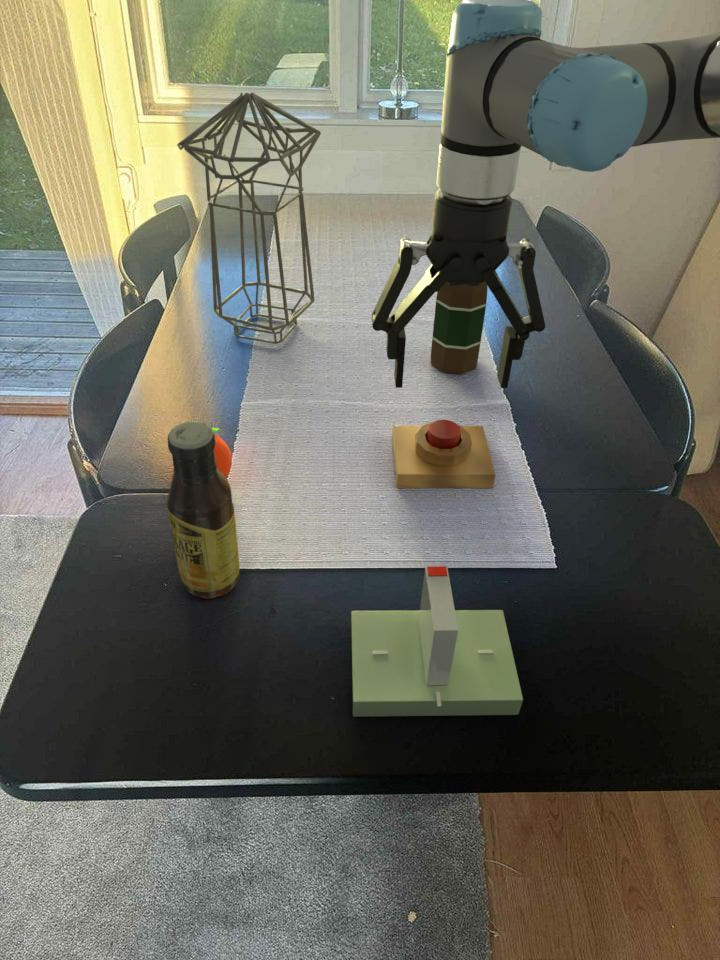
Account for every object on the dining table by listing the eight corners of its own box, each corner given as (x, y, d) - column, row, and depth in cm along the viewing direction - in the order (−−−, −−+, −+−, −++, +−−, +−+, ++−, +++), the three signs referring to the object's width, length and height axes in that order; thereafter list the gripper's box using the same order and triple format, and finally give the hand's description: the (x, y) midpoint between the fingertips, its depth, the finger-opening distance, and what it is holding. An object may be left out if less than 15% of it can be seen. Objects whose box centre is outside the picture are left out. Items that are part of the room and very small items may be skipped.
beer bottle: (465, 381, 105) (488, 221, 89) (419, 365, 108) (433, 208, 92) (486, 358, 110) (511, 203, 94) (442, 344, 113) (459, 192, 97)
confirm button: (456, 430, 89) (458, 419, 88) (461, 450, 86) (462, 438, 85) (425, 430, 89) (426, 419, 88) (428, 450, 86) (430, 438, 85)
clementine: (206, 453, 90) (199, 408, 86) (250, 470, 88) (245, 425, 83) (165, 489, 85) (155, 442, 80) (211, 508, 83) (203, 462, 78)
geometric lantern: (328, 319, 118) (326, 87, 95) (287, 364, 107) (274, 114, 84) (245, 301, 123) (224, 75, 100) (198, 343, 111) (162, 99, 88)
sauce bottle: (171, 576, 75) (136, 426, 62) (221, 549, 78) (199, 401, 65) (202, 614, 71) (172, 463, 58) (254, 585, 74) (237, 435, 61)
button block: (480, 438, 94) (484, 414, 92) (493, 487, 87) (498, 463, 84) (391, 438, 94) (393, 414, 91) (396, 488, 86) (398, 463, 84)
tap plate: (498, 620, 71) (502, 603, 69) (519, 721, 63) (525, 705, 61) (350, 621, 71) (351, 604, 69) (352, 723, 62) (353, 707, 60)
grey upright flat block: (448, 685, 62) (458, 628, 57) (426, 685, 62) (434, 628, 57) (438, 621, 68) (447, 564, 62) (418, 622, 68) (425, 564, 62)
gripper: (585, 180, 71) (543, 364, 85) (350, 176, 70) (348, 363, 84) (607, 207, 65) (558, 400, 80) (351, 203, 65) (348, 399, 79)
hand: (450, 381), depth 82 cm, fingers open, 11 cm apart
